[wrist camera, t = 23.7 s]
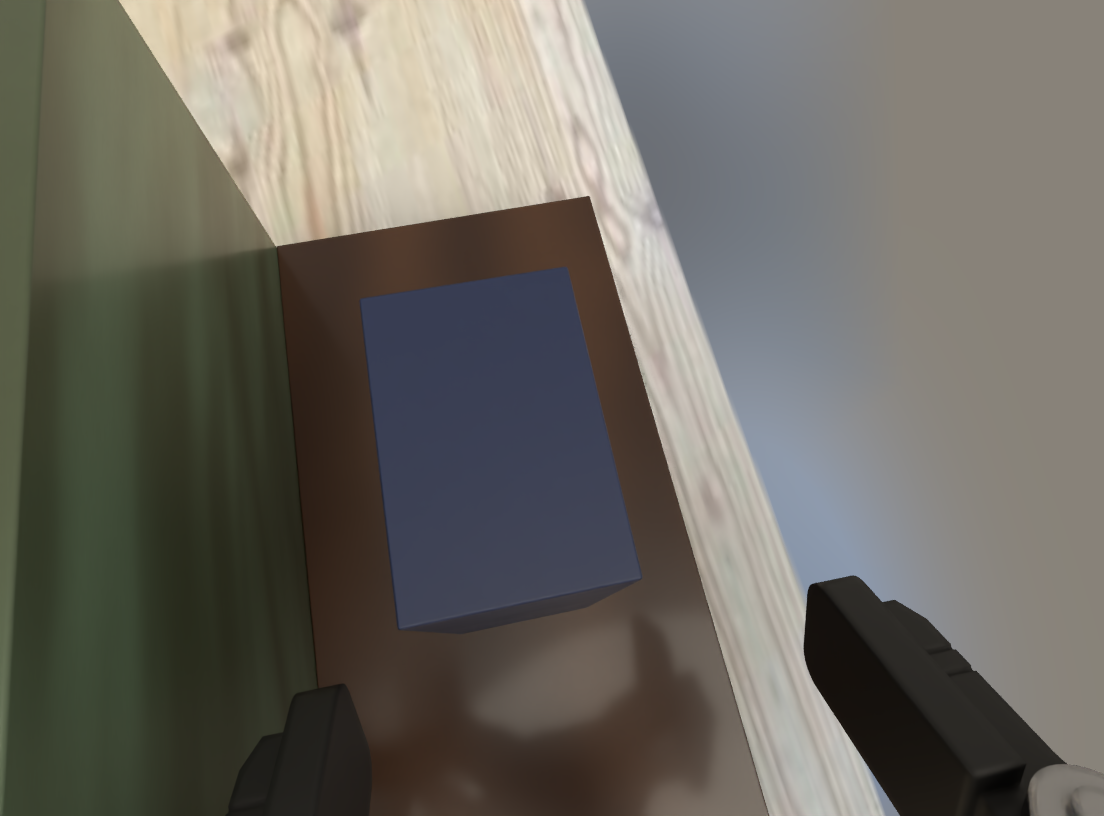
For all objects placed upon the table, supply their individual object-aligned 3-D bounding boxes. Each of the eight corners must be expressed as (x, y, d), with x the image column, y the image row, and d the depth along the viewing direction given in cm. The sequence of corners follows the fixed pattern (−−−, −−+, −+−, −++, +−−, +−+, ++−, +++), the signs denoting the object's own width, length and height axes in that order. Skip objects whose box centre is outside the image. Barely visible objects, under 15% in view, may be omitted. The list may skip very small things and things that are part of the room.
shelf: (579, 265, 30) (641, -168, 14) (741, 858, 22) (1312, 1442, 6) (282, 316, 28) (-34, -102, 12) (343, 971, 21) (-295, 2137, 5)
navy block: (549, 426, 22) (568, 265, 12) (588, 607, 20) (644, 579, 10) (432, 447, 21) (358, 297, 12) (459, 634, 19) (397, 630, 10)
